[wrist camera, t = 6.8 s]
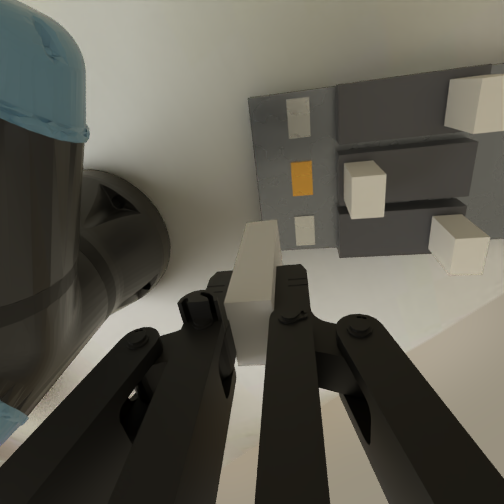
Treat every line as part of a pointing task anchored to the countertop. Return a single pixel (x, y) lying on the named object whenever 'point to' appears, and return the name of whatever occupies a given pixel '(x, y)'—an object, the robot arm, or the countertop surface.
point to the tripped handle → (364, 189)
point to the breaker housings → (418, 162)
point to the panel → (325, 167)
